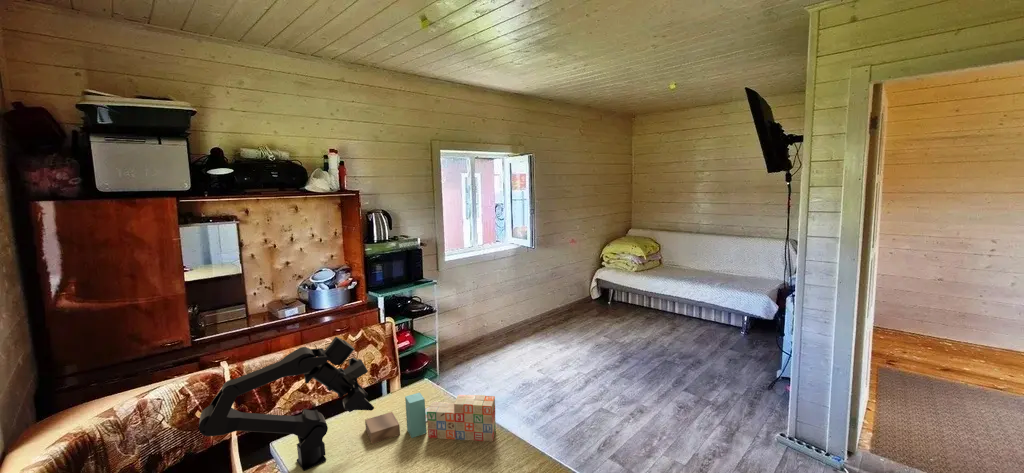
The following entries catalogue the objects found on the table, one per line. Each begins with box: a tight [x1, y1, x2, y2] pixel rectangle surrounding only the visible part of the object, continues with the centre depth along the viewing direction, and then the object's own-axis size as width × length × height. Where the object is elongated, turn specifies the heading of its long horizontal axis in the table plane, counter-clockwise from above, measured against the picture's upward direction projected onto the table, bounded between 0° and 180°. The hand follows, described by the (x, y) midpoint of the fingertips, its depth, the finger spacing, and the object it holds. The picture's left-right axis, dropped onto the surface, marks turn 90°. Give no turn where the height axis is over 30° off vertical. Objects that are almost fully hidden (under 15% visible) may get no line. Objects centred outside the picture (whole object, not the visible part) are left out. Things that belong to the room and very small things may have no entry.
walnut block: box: [364, 411, 401, 445], centre depth 141 cm, size 9×9×4 cm
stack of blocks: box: [427, 394, 497, 442], centre depth 139 cm, size 21×6×12 cm, turn 83°
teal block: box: [404, 392, 427, 439], centre depth 140 cm, size 5×5×12 cm
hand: (370, 402), depth 135 cm, fingers open, 9 cm apart
